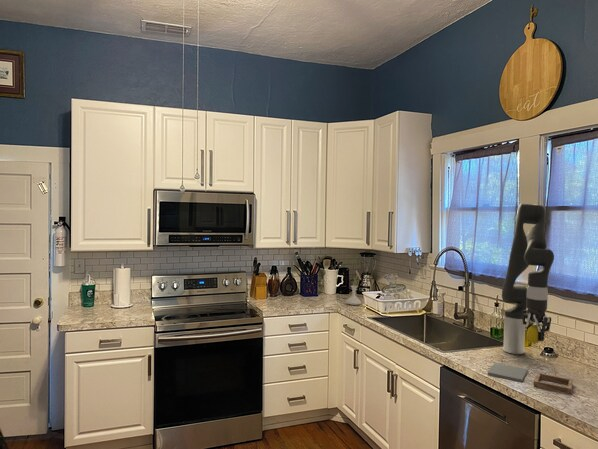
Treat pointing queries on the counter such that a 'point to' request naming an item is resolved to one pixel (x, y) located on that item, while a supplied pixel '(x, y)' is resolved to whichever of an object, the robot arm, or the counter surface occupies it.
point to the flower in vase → (353, 299)
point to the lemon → (533, 334)
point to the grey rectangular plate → (508, 372)
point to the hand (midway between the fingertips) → (534, 338)
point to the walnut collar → (552, 386)
